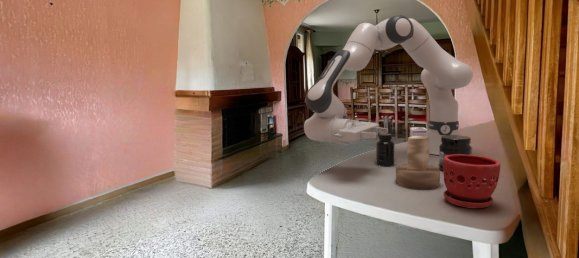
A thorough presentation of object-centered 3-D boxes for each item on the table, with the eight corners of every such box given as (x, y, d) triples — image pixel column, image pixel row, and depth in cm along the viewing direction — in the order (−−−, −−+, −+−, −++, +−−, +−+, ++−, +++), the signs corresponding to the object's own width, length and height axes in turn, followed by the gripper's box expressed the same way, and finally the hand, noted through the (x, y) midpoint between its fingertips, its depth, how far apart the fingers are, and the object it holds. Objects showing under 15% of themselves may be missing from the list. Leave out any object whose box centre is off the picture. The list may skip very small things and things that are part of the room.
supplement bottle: (381, 161, 137) (382, 132, 135) (397, 164, 132) (398, 133, 131) (372, 164, 132) (372, 134, 131) (388, 167, 128) (389, 136, 126)
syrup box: (427, 167, 126) (428, 129, 124) (410, 167, 127) (411, 129, 125) (424, 164, 131) (425, 127, 129) (408, 163, 132) (409, 127, 130)
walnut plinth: (395, 177, 116) (396, 162, 115) (437, 179, 112) (437, 164, 111) (395, 188, 104) (396, 173, 103) (442, 191, 100) (442, 175, 99)
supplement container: (476, 170, 121) (477, 136, 119) (462, 175, 114) (464, 140, 113) (447, 164, 129) (448, 133, 127) (432, 170, 123) (433, 137, 121)
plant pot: (473, 215, 82) (476, 167, 80) (431, 199, 93) (432, 156, 92) (509, 206, 87) (512, 160, 85) (464, 191, 99) (466, 151, 97)
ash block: (407, 169, 107) (407, 137, 105) (412, 165, 111) (413, 135, 109) (423, 171, 104) (424, 139, 102) (428, 167, 108) (429, 136, 106)
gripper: (329, 126, 112) (369, 128, 104) (356, 118, 129) (392, 120, 120) (330, 145, 113) (369, 148, 105) (357, 135, 129) (392, 137, 121)
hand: (382, 133), depth 113 cm, fingers open, 8 cm apart
